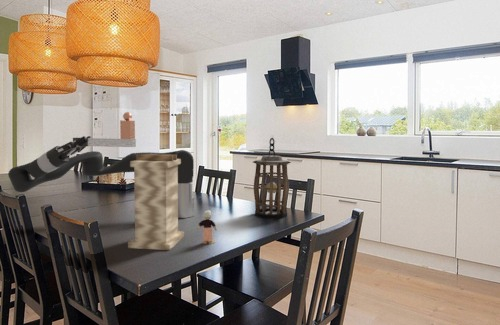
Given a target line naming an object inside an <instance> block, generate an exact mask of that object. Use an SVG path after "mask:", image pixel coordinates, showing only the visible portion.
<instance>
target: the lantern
mask: <svg viewBox="0 0 500 325" xmlns="http://www.w3.org/2000/svg"><path fill="white" fill-rule="evenodd" d="M275 142H276V141H275V139H274V138H273V137H270V138H269V147H268V148H269V150H268V154H267V155H262V156H261V159H255V160H254V161H252V163H254V164H255V173H254V179H253V196H254V203H255V204H254V206H255V211H254V216H255V217H257V218H262V219H268V218H274V220H276V218H277V219H283V218H285V217H287V216H288V215H287V205H288V204H287V203H288V196H289V190H290V182H289V177H288V165H289V164H291V163H292V162H291V161H289V160H287V159H286V160H285V159H283V158H282V156H281V155H276V152H275ZM271 147H272V148H271ZM271 153H273V154H272V155H271ZM261 166H262V167H261ZM267 166H269V172H267ZM274 166H276V172H274ZM261 168H262V172H261ZM260 178H261V183H260ZM266 178H267V179H268V178H269V182H268V183H266ZM274 179H276V180H277V183H276V182H275V181H274ZM282 182H283V184H282ZM260 190H261V199H260ZM266 192H267V193H269V198H268V199H266ZM273 194H276V197H275V198H276V200H275V199H273V197H274V195H273ZM281 196H282V197H281ZM266 203H268V204H266ZM274 203H275V204H274Z"/></svg>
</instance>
